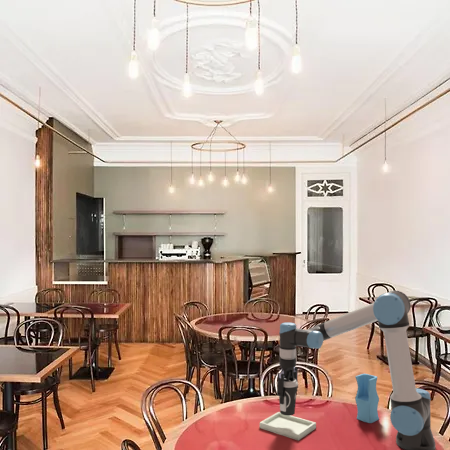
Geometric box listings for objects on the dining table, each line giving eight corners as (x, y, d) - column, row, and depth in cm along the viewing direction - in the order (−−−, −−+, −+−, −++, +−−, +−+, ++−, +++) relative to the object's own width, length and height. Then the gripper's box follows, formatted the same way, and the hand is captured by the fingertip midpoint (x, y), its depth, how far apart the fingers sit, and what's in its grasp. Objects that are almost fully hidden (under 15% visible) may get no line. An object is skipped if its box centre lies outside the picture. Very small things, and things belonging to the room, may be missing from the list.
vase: (355, 418, 215) (355, 376, 215) (364, 414, 220) (364, 373, 221) (370, 423, 209) (370, 380, 209) (379, 419, 214) (378, 376, 215)
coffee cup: (297, 417, 198) (297, 383, 199) (275, 415, 200) (276, 382, 201) (298, 409, 208) (298, 376, 208) (277, 407, 210) (277, 375, 210)
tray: (316, 428, 204) (316, 422, 204) (298, 440, 191) (298, 434, 191) (278, 417, 216) (278, 411, 216) (259, 428, 204) (259, 422, 204)
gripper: (291, 351, 215) (291, 400, 214) (268, 360, 199) (268, 412, 199) (305, 354, 210) (305, 403, 210) (283, 363, 194) (283, 417, 194)
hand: (287, 408), depth 204 cm, fingers closed on coffee cup, 7 cm apart
